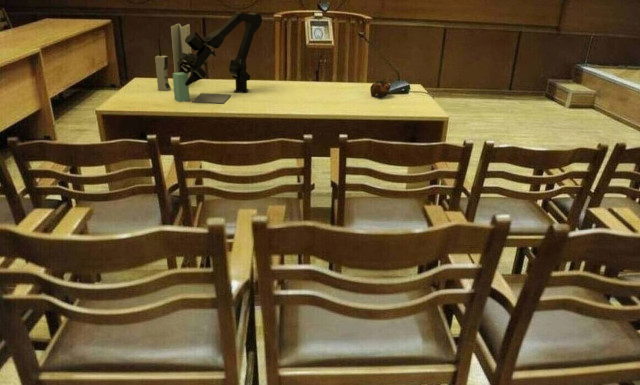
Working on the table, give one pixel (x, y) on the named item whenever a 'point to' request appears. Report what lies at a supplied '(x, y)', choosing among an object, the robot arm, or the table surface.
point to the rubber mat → (211, 98)
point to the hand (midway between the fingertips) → (180, 83)
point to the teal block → (180, 87)
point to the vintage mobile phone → (162, 71)
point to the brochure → (180, 43)
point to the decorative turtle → (380, 88)
